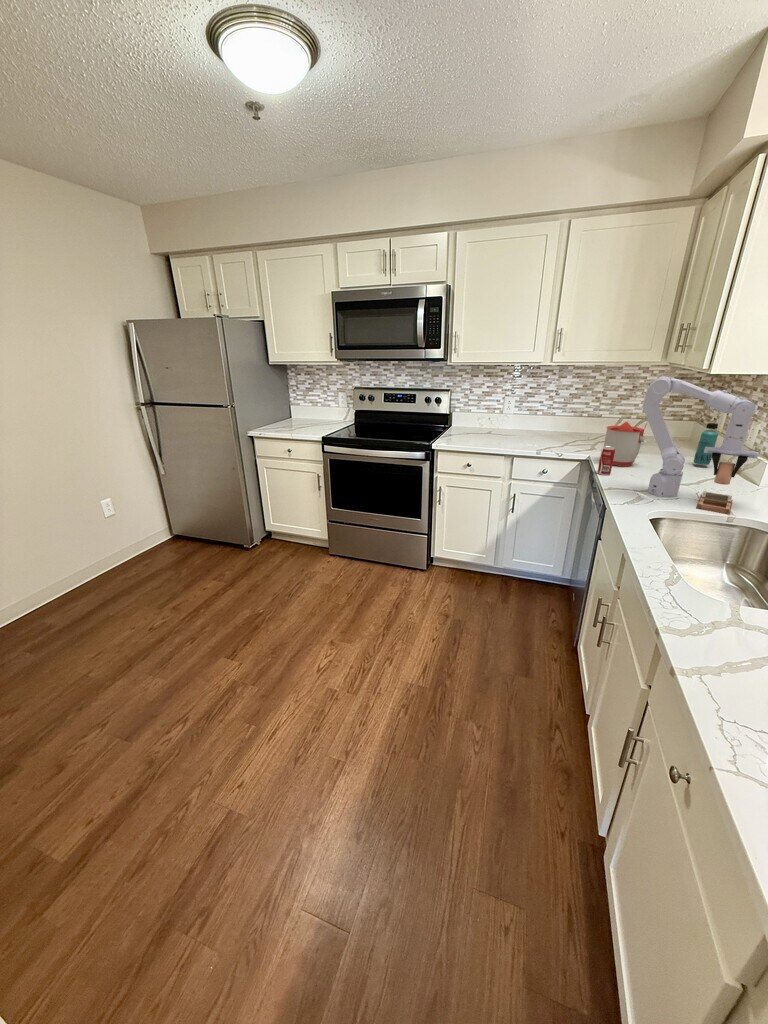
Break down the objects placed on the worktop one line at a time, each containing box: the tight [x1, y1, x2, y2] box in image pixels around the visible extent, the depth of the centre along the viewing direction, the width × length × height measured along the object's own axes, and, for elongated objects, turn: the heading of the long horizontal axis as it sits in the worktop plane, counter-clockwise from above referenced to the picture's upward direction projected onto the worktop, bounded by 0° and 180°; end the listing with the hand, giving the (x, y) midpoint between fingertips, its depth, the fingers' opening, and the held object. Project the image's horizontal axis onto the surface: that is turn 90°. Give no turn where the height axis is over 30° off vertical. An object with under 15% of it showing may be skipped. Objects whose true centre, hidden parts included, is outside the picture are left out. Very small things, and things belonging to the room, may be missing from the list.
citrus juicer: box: [603, 421, 647, 467], centre depth 198 cm, size 16×17×20 cm
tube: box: [713, 461, 736, 486], centre depth 147 cm, size 4×4×7 cm
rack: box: [695, 490, 733, 516], centre depth 148 cm, size 18×9×2 cm, turn 140°
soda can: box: [597, 445, 615, 476], centre depth 184 cm, size 5×5×12 cm
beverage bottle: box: [693, 422, 719, 466], centre depth 193 cm, size 6×7×20 cm
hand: (723, 475), depth 147 cm, fingers closed on tube, 4 cm apart
